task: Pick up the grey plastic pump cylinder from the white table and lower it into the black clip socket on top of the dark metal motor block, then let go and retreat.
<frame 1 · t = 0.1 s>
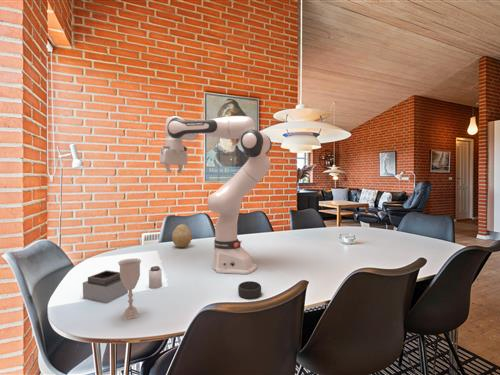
hand: (174, 173, 152), 48 cm above the table, fingers open, 8 cm apart
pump: (155, 286, 118), on the table
smart speaker: (249, 295, 109), on the table
fossilized egg: (182, 247, 184), on the table
chalice: (130, 315, 93), on the table
motor block: (106, 295, 109), on the table
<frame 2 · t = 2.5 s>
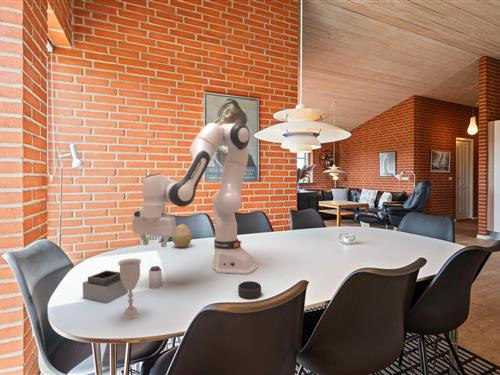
hand: (154, 245, 117), 17 cm above the table, fingers open, 8 cm apart
nothing on the table moved.
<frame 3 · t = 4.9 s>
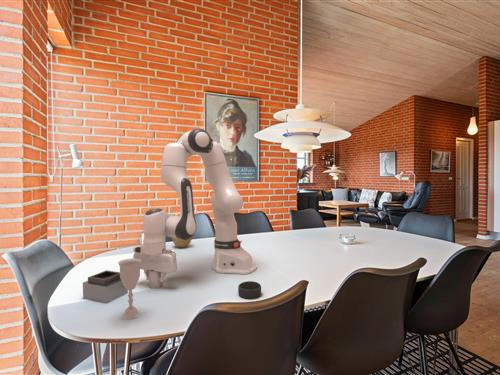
hand: (155, 280, 118), 2 cm above the table, fingers closed on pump, 5 cm apart
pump: (155, 286, 118), on the table, touching gripper
everything else where it was.
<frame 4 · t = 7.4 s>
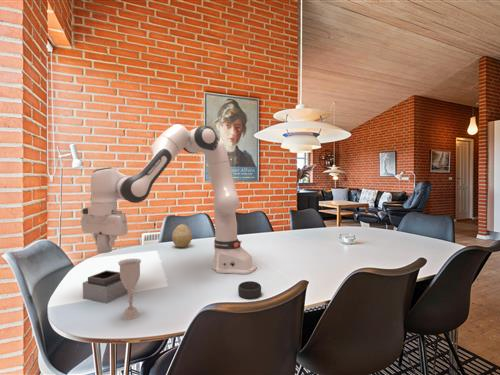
hand: (104, 245, 108), 19 cm above the table, fingers closed on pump, 5 cm apart
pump: (104, 251, 108), point 17 cm above the table, touching gripper
everything else where it was.
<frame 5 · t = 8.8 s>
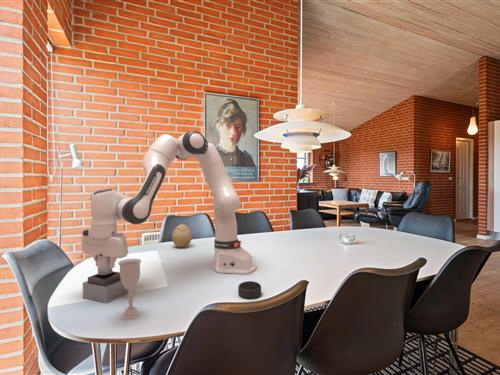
hand: (105, 266, 109), 11 cm above the table, fingers closed on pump, 5 cm apart
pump: (105, 272, 109), point 9 cm above the table, touching gripper
everything else where it was.
when the fingers open (10 cm above the table, at t = 10.0 s): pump drops 1 cm, resting on motor block.
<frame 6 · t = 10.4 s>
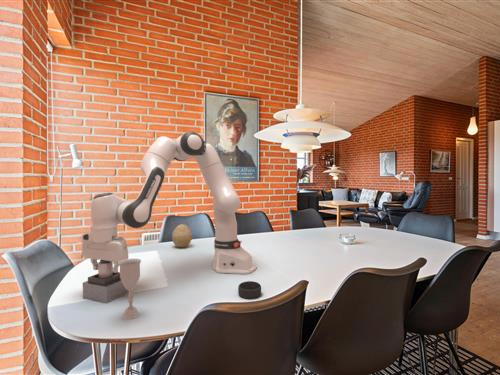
hand: (105, 270, 109), 10 cm above the table, fingers open, 8 cm apart
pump: (105, 280, 109), point 6 cm above the table, touching motor block
everything else where it was.
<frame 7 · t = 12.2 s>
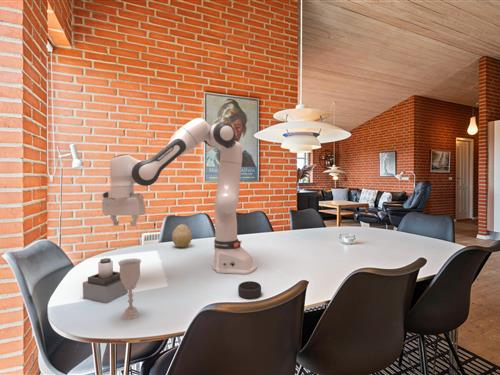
hand: (124, 225, 119), 25 cm above the table, fingers open, 8 cm apart
nothing on the table moved.
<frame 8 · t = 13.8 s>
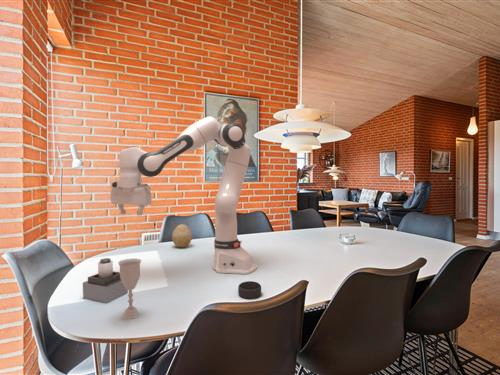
hand: (131, 214, 125), 29 cm above the table, fingers open, 8 cm apart
nothing on the table moved.
at the end: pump 0.1 cm off-centre on the motor block, point 6.0 cm above the motor block's base; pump tilted 1°; the gripper is holding nothing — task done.
